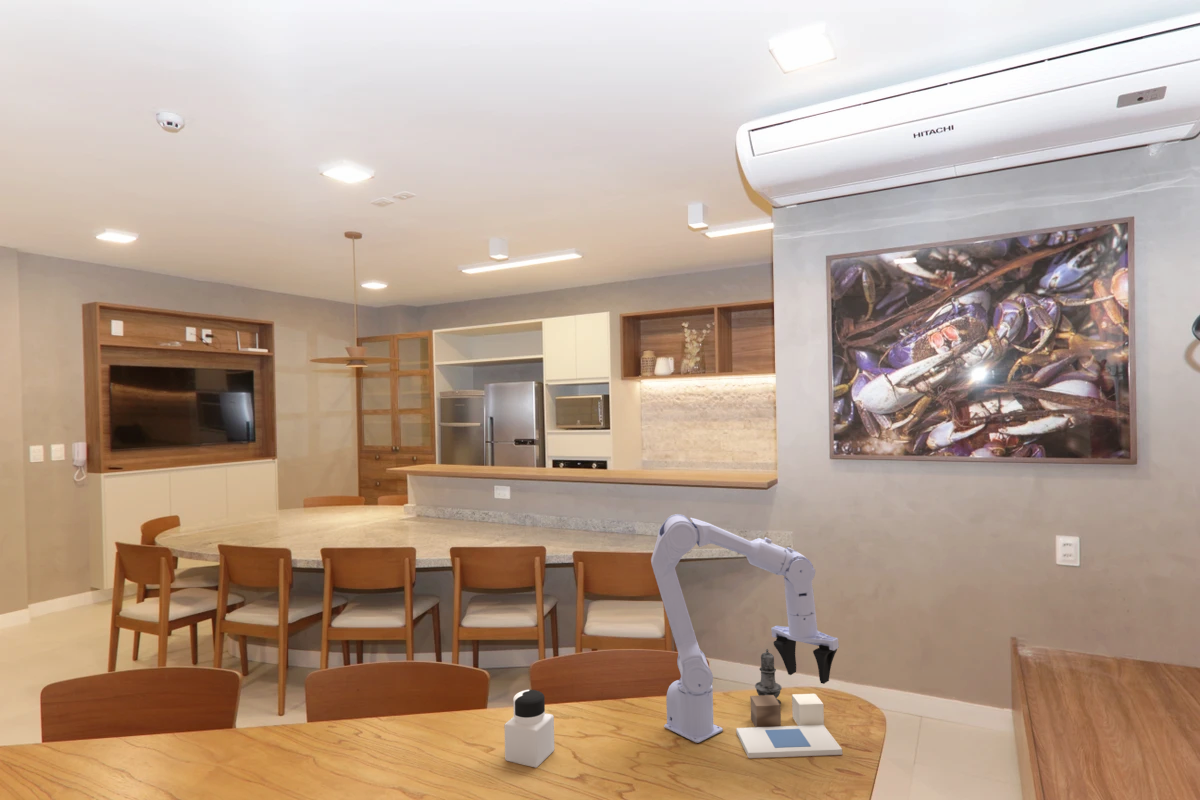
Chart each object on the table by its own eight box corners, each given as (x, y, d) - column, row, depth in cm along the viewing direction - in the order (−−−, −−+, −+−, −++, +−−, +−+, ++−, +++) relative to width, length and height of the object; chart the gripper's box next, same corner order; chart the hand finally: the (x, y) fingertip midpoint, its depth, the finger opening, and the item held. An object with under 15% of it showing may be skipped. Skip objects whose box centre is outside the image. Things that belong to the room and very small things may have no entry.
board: (748, 758, 128) (748, 752, 128) (736, 732, 138) (736, 727, 138) (842, 754, 129) (842, 748, 129) (823, 729, 139) (823, 724, 139)
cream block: (800, 729, 139) (799, 704, 139) (792, 717, 144) (791, 694, 144) (824, 728, 140) (823, 703, 140) (815, 717, 145) (815, 693, 145)
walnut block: (756, 730, 139) (756, 706, 139) (750, 719, 144) (750, 695, 144) (781, 729, 139) (780, 705, 139) (774, 718, 144) (773, 695, 144)
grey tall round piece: (785, 708, 149) (783, 653, 149) (758, 708, 149) (756, 653, 149) (778, 696, 155) (777, 644, 155) (752, 697, 155) (751, 644, 155)
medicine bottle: (555, 750, 133) (553, 689, 133) (536, 768, 126) (535, 704, 126) (523, 743, 136) (522, 683, 136) (504, 761, 129) (503, 698, 129)
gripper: (843, 611, 137) (850, 679, 136) (782, 601, 148) (788, 663, 147) (824, 621, 132) (832, 691, 132) (763, 610, 143) (769, 674, 143)
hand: (808, 677), depth 139 cm, fingers open, 7 cm apart
